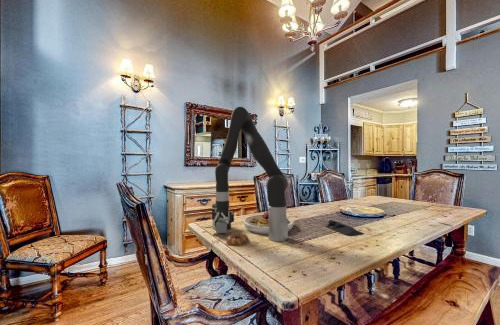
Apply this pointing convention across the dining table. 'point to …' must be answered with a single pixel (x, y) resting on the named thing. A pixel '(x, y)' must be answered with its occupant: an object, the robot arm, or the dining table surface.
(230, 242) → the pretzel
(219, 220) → the coffee can
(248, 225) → the bowl
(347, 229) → the dark slate chunk
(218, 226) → the matte grey box
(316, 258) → the dining table surface
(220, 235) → the brown base with peg
